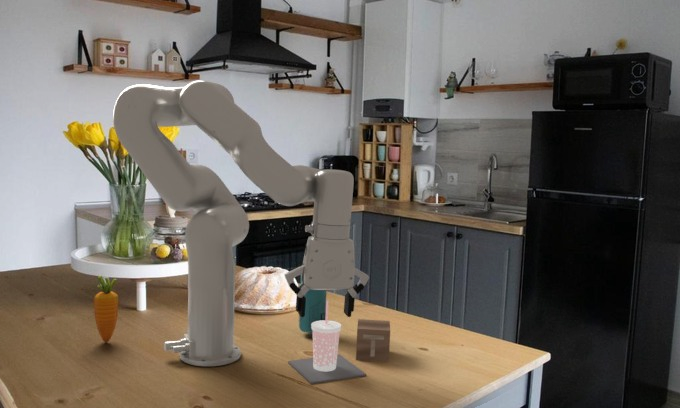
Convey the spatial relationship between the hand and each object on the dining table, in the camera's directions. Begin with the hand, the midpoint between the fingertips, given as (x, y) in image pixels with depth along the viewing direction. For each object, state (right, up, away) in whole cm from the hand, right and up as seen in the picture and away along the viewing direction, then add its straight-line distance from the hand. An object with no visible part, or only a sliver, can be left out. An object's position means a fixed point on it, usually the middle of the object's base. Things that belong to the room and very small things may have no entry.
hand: (324, 315), depth 129 cm
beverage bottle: (-4, -9, +22) cm, 24 cm away
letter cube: (+10, -11, +10) cm, 18 cm away
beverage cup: (0, -11, +1) cm, 11 cm away
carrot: (-48, -8, +11) cm, 50 cm away
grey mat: (0, -11, +1) cm, 11 cm away
